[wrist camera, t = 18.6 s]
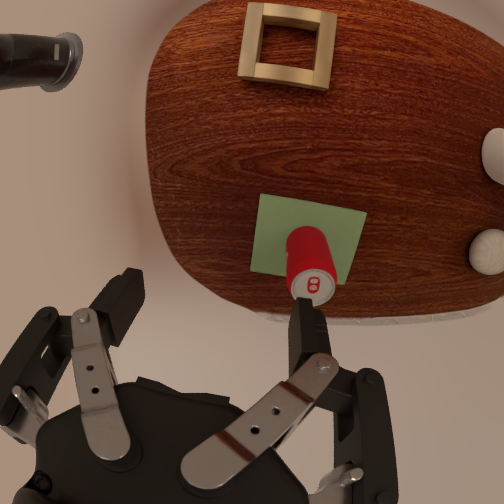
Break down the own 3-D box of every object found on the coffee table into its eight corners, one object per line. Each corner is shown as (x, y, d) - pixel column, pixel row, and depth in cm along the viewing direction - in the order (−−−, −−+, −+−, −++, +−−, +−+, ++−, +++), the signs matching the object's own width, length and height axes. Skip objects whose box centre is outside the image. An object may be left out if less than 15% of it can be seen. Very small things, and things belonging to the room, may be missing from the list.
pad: (250, 269, 45) (250, 271, 45) (260, 193, 39) (260, 194, 39) (343, 283, 45) (344, 285, 44) (366, 212, 38) (366, 213, 38)
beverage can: (285, 259, 43) (284, 309, 33) (286, 222, 40) (287, 265, 30) (324, 260, 43) (335, 310, 32) (328, 224, 40) (343, 266, 29)
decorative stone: (510, 233, 35) (524, 244, 31) (493, 271, 40) (505, 284, 35) (475, 215, 35) (491, 227, 31) (456, 259, 40) (469, 273, 35)
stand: (241, 79, 31) (237, 75, 28) (251, 11, 26) (248, 1, 23) (323, 91, 31) (328, 88, 28) (332, 23, 26) (337, 14, 22)
